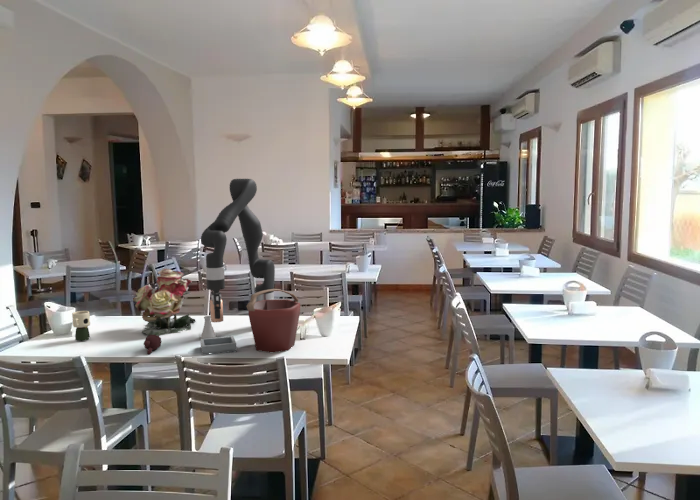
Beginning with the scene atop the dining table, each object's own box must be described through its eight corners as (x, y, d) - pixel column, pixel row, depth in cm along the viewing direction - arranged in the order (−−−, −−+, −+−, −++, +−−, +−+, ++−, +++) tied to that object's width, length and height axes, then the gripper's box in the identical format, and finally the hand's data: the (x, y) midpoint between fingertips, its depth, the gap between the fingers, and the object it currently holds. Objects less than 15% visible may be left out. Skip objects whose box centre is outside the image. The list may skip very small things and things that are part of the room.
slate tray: (233, 343, 252) (233, 336, 252) (236, 351, 241) (236, 343, 241) (200, 346, 248) (200, 339, 248) (202, 354, 237) (201, 346, 237)
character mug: (85, 343, 257) (82, 315, 255) (69, 343, 257) (67, 315, 255) (95, 336, 267) (94, 309, 266) (80, 337, 267) (78, 309, 266)
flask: (212, 340, 259) (211, 318, 257) (197, 339, 260) (196, 318, 259) (219, 336, 266) (218, 315, 264) (204, 335, 267) (203, 314, 266)
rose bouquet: (135, 326, 287) (131, 266, 283) (195, 320, 296) (192, 263, 292) (133, 339, 263) (129, 274, 259) (198, 332, 272) (195, 270, 268)
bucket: (251, 357, 233) (249, 297, 230) (239, 343, 253) (237, 287, 250) (308, 349, 242) (307, 291, 239) (292, 336, 263) (291, 283, 260)
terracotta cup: (222, 318, 246) (222, 298, 245) (223, 321, 242) (223, 300, 240) (210, 319, 245) (209, 299, 244) (211, 322, 240) (210, 301, 239)
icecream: (148, 331, 252) (135, 343, 237) (163, 326, 251) (151, 339, 237) (153, 345, 253) (140, 358, 239) (169, 341, 253) (157, 354, 238)
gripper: (226, 279, 235) (227, 320, 237) (223, 274, 249) (224, 312, 251) (207, 281, 233) (209, 321, 235) (205, 275, 247) (207, 314, 249)
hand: (217, 316), depth 243 cm, fingers closed on terracotta cup, 5 cm apart
